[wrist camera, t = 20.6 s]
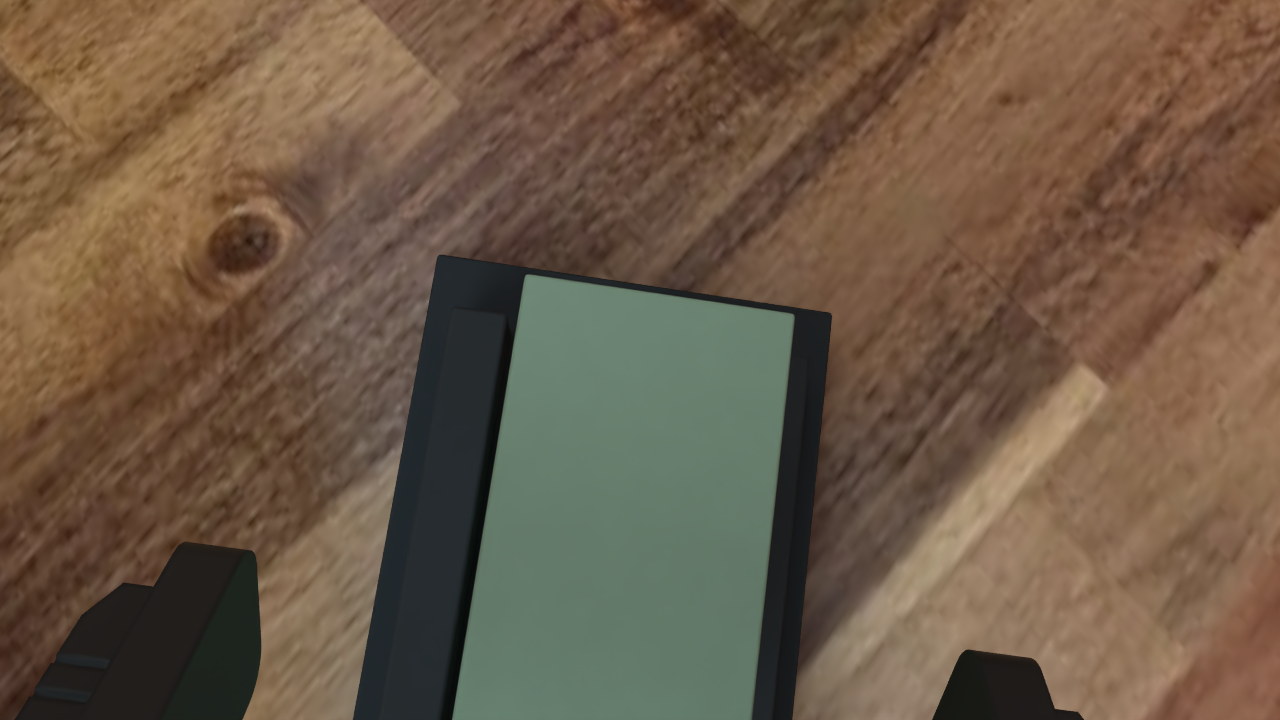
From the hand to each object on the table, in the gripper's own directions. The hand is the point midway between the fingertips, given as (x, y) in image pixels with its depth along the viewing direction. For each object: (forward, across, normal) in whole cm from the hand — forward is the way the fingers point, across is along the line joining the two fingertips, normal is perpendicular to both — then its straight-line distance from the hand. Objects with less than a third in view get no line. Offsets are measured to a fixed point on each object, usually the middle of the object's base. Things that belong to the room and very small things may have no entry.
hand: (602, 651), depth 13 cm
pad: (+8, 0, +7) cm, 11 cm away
